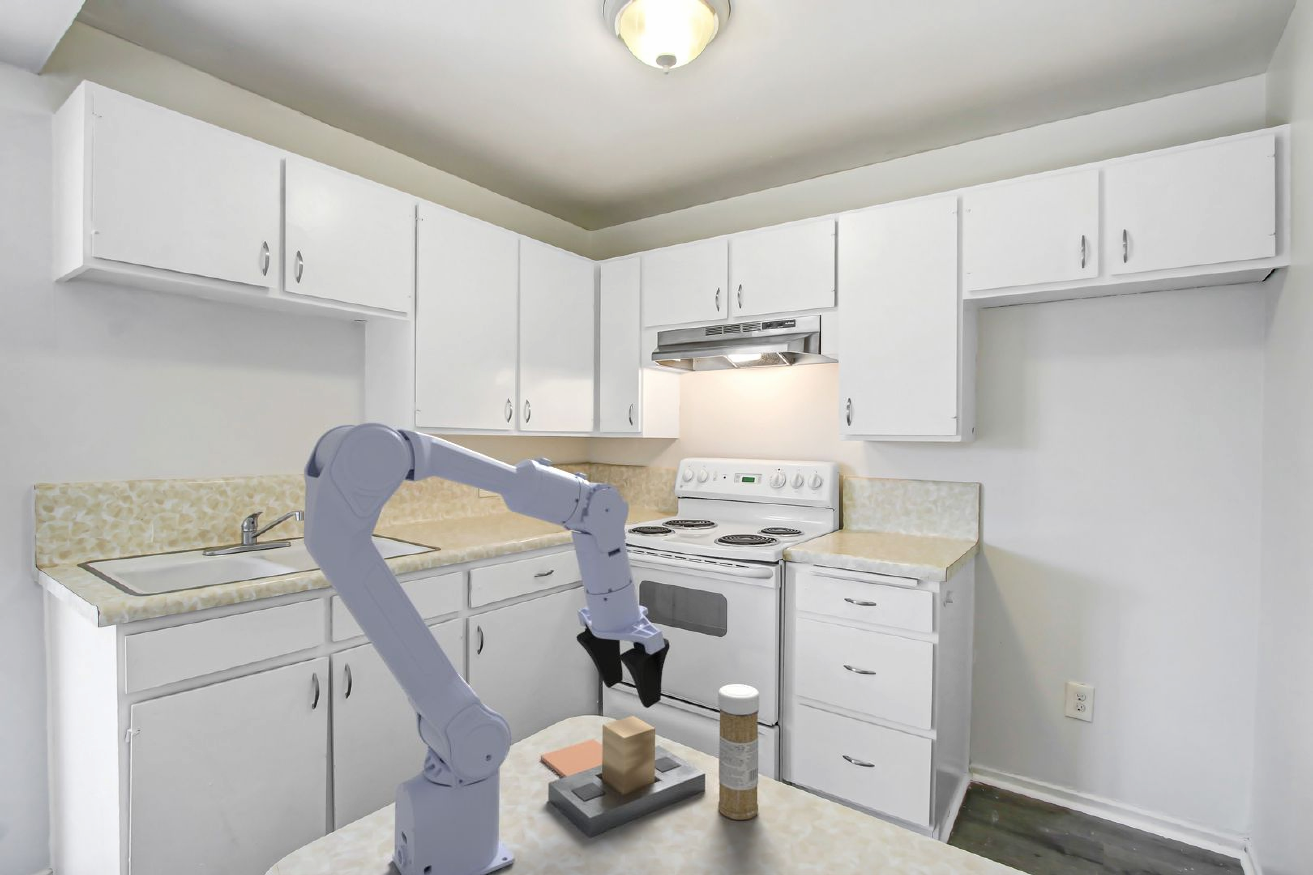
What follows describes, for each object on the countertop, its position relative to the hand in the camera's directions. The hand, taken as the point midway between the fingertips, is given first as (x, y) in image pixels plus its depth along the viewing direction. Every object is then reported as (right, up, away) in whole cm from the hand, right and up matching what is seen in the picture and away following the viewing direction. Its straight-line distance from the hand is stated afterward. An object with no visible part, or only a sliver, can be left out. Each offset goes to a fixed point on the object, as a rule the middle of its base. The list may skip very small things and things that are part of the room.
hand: (632, 692), depth 77 cm
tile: (-7, -12, +7) cm, 15 cm away
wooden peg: (-1, -12, -1) cm, 12 cm away
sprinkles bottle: (+12, -12, -4) cm, 17 cm away
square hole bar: (-1, -12, -1) cm, 12 cm away
